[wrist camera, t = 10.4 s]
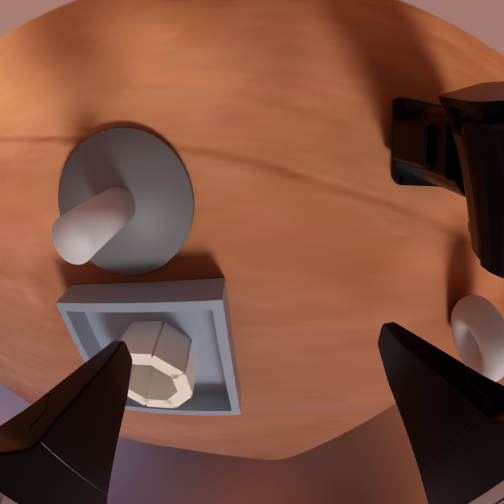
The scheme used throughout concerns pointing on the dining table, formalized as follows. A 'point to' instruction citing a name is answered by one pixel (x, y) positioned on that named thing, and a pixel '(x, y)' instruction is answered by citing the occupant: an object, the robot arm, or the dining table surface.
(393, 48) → the dining table surface
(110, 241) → the stake
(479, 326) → the donut
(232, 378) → the tray
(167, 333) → the ring
